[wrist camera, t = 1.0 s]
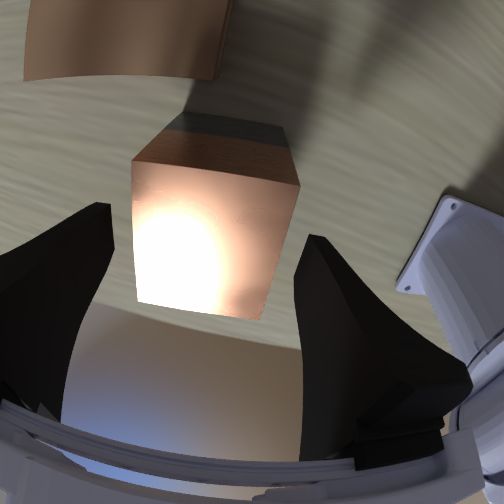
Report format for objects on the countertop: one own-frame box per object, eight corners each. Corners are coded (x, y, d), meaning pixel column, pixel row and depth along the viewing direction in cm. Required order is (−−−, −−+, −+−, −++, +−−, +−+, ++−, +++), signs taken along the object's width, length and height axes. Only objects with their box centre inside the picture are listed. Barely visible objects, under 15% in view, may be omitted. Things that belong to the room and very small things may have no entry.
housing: (282, 126, 14) (300, 186, 9) (259, 225, 18) (259, 320, 12) (182, 111, 14) (131, 160, 8) (174, 212, 17) (138, 301, 12)
